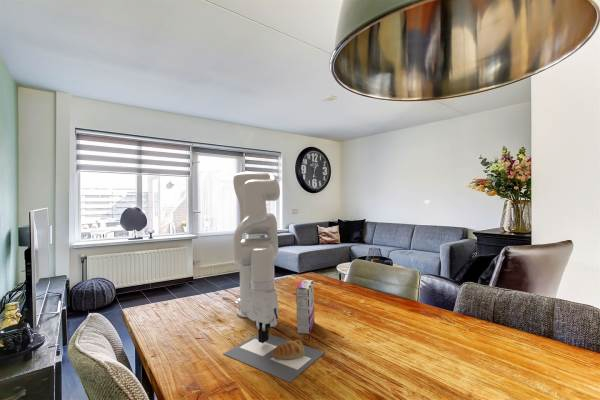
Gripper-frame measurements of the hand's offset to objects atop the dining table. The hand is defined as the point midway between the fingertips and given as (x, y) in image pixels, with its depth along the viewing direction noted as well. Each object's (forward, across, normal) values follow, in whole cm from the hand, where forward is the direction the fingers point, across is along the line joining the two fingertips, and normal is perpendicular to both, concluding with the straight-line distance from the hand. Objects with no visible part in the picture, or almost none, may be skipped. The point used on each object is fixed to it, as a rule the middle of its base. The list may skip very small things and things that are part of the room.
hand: (263, 340), depth 95 cm
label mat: (+2, +6, -2) cm, 6 cm away
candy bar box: (+2, +4, +19) cm, 19 cm away
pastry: (+2, +11, 0) cm, 11 cm away
